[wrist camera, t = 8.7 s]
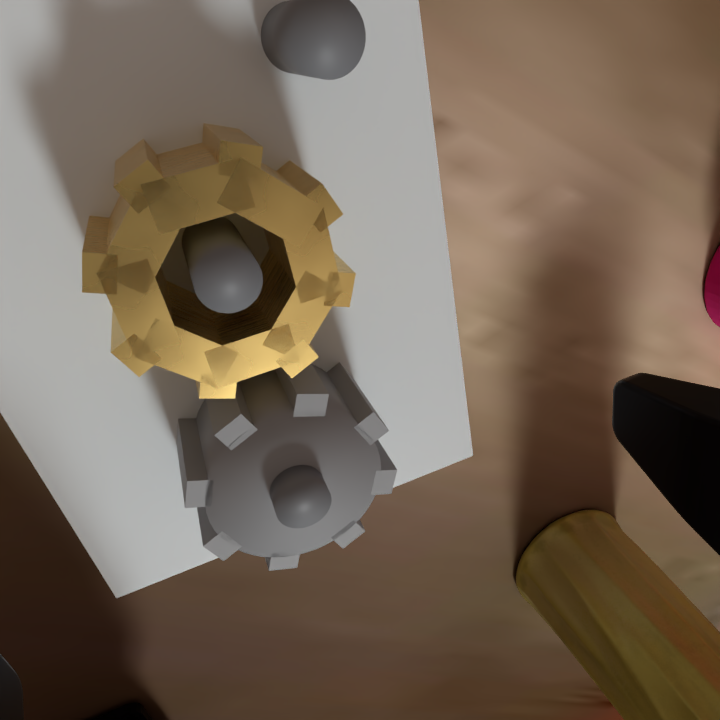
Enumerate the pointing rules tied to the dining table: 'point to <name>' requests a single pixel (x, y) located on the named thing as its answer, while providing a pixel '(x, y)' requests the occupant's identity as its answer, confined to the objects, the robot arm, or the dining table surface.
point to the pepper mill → (713, 288)
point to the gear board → (166, 105)
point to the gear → (182, 307)
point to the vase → (623, 619)
